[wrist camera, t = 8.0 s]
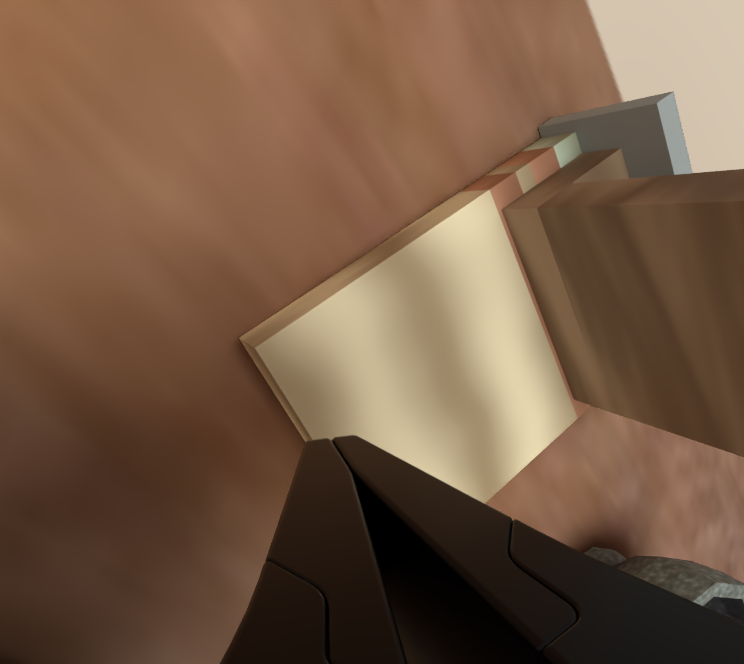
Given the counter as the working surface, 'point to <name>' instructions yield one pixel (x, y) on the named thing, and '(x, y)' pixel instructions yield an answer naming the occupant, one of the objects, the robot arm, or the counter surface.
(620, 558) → the mortar and pestle
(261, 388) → the counter surface
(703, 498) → the counter surface
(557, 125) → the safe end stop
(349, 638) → the robot arm
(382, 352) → the board
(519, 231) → the bookend block
